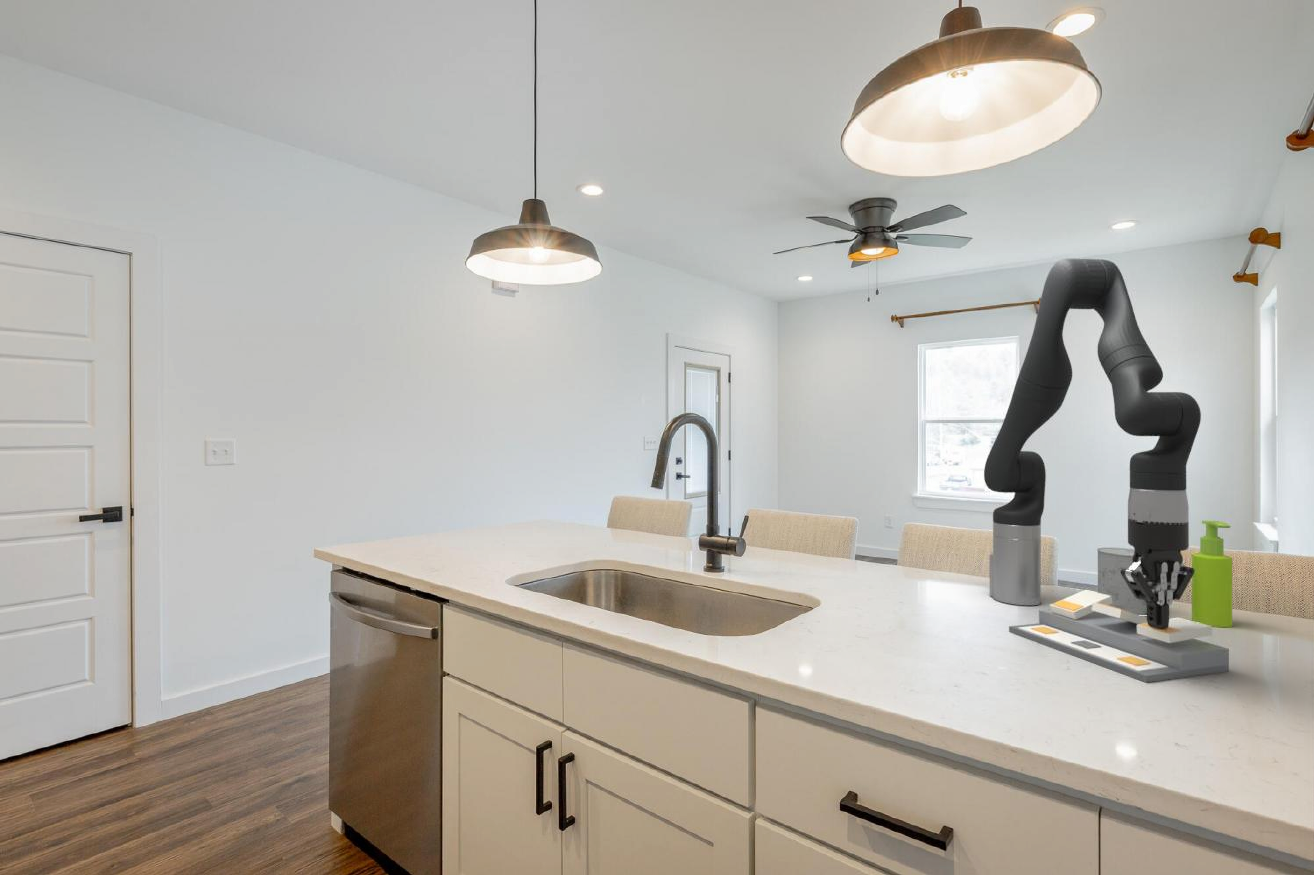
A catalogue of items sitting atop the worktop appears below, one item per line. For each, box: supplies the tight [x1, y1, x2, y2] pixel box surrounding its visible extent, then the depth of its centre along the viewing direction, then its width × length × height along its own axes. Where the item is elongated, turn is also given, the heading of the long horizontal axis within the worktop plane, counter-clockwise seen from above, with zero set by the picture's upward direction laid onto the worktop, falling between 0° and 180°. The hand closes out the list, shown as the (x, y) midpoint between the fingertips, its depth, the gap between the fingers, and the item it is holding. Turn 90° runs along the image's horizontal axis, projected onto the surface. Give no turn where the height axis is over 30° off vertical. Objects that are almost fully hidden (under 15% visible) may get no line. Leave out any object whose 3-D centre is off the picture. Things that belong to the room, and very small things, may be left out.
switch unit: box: [1008, 608, 1230, 683], centre depth 106 cm, size 25×17×4 cm
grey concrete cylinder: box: [1096, 547, 1147, 615], centre depth 131 cm, size 10×10×12 cm
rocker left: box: [1049, 589, 1113, 620], centre depth 115 cm, size 5×9×2 cm, turn 105°
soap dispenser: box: [1191, 520, 1233, 628], centre depth 121 cm, size 6×7×20 cm
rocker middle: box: [1092, 602, 1147, 624], centre depth 107 cm, size 5×9×2 cm, turn 105°
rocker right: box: [1137, 616, 1213, 643], centre depth 99 cm, size 5×9×2 cm, turn 105°
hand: (1157, 627), depth 98 cm, fingers closed
